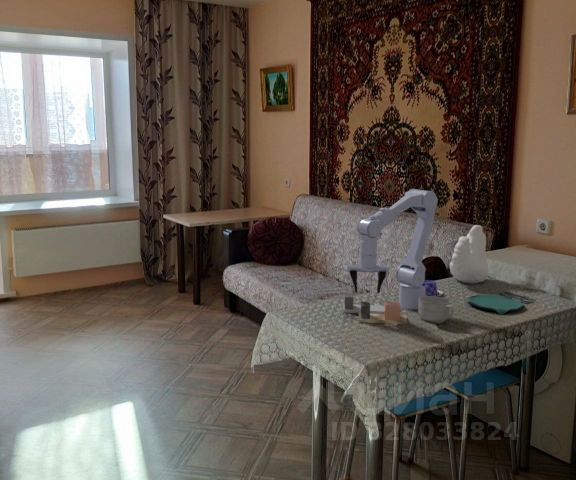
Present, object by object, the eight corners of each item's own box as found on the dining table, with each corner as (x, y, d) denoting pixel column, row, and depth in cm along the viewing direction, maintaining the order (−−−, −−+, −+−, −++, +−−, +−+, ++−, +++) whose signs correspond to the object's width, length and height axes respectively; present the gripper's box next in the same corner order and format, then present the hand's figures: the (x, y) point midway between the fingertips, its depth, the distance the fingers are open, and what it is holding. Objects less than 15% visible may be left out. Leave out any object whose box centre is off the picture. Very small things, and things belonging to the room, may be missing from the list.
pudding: (410, 296, 232) (410, 283, 231) (415, 288, 243) (416, 276, 242) (440, 299, 227) (441, 286, 226) (444, 291, 238) (445, 279, 237)
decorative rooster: (466, 274, 266) (470, 221, 262) (496, 281, 254) (500, 225, 249) (430, 282, 252) (433, 226, 247) (460, 290, 239) (464, 231, 235)
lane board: (392, 310, 212) (392, 307, 212) (396, 328, 193) (397, 325, 192) (343, 308, 214) (343, 305, 214) (342, 326, 194) (342, 323, 194)
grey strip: (387, 308, 211) (387, 294, 210) (388, 314, 204) (389, 299, 203) (343, 306, 212) (343, 292, 211) (343, 312, 205) (343, 297, 204)
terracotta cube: (398, 315, 199) (399, 301, 198) (399, 320, 195) (400, 305, 194) (383, 314, 200) (384, 301, 199) (384, 319, 195) (385, 305, 194)
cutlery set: (456, 304, 221) (456, 298, 220) (501, 293, 239) (502, 287, 238) (503, 318, 205) (503, 312, 205) (547, 305, 223) (548, 299, 223)
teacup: (411, 318, 204) (412, 296, 202) (437, 314, 207) (438, 293, 206) (434, 330, 191) (436, 307, 189) (462, 327, 195) (463, 304, 193)
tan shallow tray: (405, 317, 200) (406, 302, 199) (407, 324, 194) (408, 308, 192) (358, 315, 202) (359, 300, 201) (359, 322, 195) (359, 306, 194)
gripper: (347, 256, 196) (346, 294, 198) (390, 257, 194) (389, 296, 197) (347, 251, 203) (346, 289, 205) (388, 252, 201) (387, 290, 204)
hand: (367, 292), depth 201 cm, fingers open, 7 cm apart
